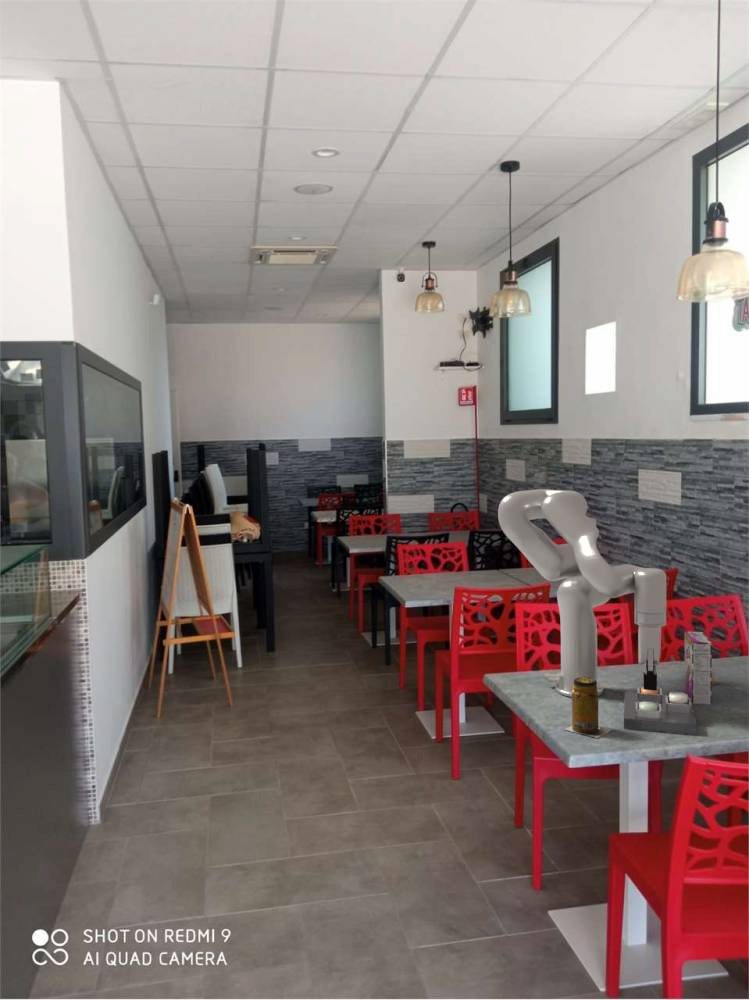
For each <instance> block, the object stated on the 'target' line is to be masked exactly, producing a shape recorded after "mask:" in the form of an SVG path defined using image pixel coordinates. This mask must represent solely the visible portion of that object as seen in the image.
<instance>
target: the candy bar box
mask: <svg viewBox="0 0 749 1000" xmlns="http://www.w3.org/2000/svg"><path fill="white" fill-rule="evenodd" d="M712 645H713V644H712V642H711V641H710V639H709V638H708V637H707V636H706V633H704V631H703V632H702V631H684V691H685V694H687V695H688V696H690V697H691V699H692V704H693V705H699V706H700V705H702V706H712V701H713V700H712V697H713V695H712V688H713V685H712V671H713V670H712V668H713V667H712V666H713V664H712V663H713V662H712V660H713V658H712V655H713V654H712V652H713V651H712Z"/></svg>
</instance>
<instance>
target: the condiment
mask: <svg viewBox="0 0 749 1000" xmlns="http://www.w3.org/2000/svg"><path fill="white" fill-rule="evenodd" d="M597 683H598V681H597V682H596V680H595V679H592V678H588V677H578V678H576V679H574V689H573V691H572V697H571V724H572V725H570V726H569V727H566V728H564V730H566V731H569V732H570V733H571V732H572V733H575V734H578V735H579V734H580V735H585V736H588V737H593V738H597V739H598V738H600V737H602V736H604V735H607V734H608V733H609V732H610V731H612V730H613V729H611V728H608V727H604V726H601V725H599V716H600V715H599V696H598V692H597V686H596V684H597ZM599 727H600V730H601V731H600V730H598V728H599Z"/></svg>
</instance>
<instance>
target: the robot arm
mask: <svg viewBox="0 0 749 1000" xmlns="http://www.w3.org/2000/svg"><path fill="white" fill-rule="evenodd" d="M587 511H588V504H587V500H586V498H585V496H583V494H582V493H580V492H578V491H575V490H560V489H557V490H556V489H540V488H539V489H528V490H521V491H519V490H518V491H514V492H511V493H509V494H507V495H505V496H504V497H503V498H502V499H501V500H500V503H499V506H498V509H497V514H498V515H497V517H498V523H499V527H500V528H501V530H502V532H503V534H504V535H505V536H506V537H507V538H508V540H509V541H511V542H512V543H513V544H514V546H515V547H517V549H518V550H519V551H520V552H521V553H522V554H523V555H524V557H525V558H526V560H528V562H529V563H530V564H531V565H532V566H533V568H534V569H535V570H536V571H537V572H538V573H539V574H540V576H541V577H542V578H544V579H545V580H547V581H549V582H556V581H560V580H563V581H562V582H561V583H560V585H559V586H558V588H557V593H556V599H557V605H558V611H559V617H560V618H559V619H560V670H559V672H556V673H551V672H550V673H548V672H545V673H544V681H547V682H548V683H555V685H554V688H555V689H554V690H555V692H557V693H558V694H560V695H562V696H565V697H569V698H570V697H571V698H572V691H573V689H574V679H576V678H578V677H588V678H592V679H595V680H596V682H597V684H596V686H597V692H598V697H599V696H601V695H602V694H603V693H604V687H603V686H602V685H601V684H599V683H598V627H597V620H596V617H595V616H596V615H595V612H594V608H596V607H599V606H602V605H604V604H606V603H607V602H609V601H610V600H611V599H615V598H618V597H622V596H624V595H629V594H633V593H634V624H635V625H637V626H638V632H637V633H638V635H637V637H638V638H637V639H638V640H637V641H638V642H637V643H638V644H637V645H638V646H637V647H638V649H637V651H638V652H637V655H638V664H639V665H640V666H641V665H644V666H643V667H644V671H643V672H642V673H643V681H642V682H643V683H642V684H643V686H642V687H644V689H645V690H657V688H658V673H657V666H659V665H660V659H661V650H662V649H661V648H662V647H661V646H662V643H661V641H662V627H665V626H667V573H666V572H665V571H664V570H663V569H661V568H653V567H641V566H638V565H634V564H629V563H624V564H619V565H615V566H611V565H610V564H609V563H608V562H607V561H606V560H605V559H604V557H603V556H602V555H601V553H600V552H599V550H598V548H597V539H598V537H599V535H600V530H599V528H598V527H597V526H596V525H595V524H594V522H593V521H592V520H590V518H588V516H587V515H586V513H587ZM537 519H538V520H539V519H546V520H547V521H548V523H549V524H550V525H551V526H552V527H553V529H555V531H556V532H557V533H558V534H559V535H560V536H561V537H562V538H563V540H565V542H566V543H562V544H557V543H556V542H554V541H553V540H552V539H551V538H550V537H549V536H548V534H546V533H545V531H544V530H543V529H541V528H540V527H538V526H537V525H536V524H534V523H533V522H531V520H537Z"/></svg>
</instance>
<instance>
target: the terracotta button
mask: <svg viewBox="0 0 749 1000" xmlns="http://www.w3.org/2000/svg"><path fill="white" fill-rule="evenodd" d="M658 688H659V687H657V690H645V689H644V687H643V686H641V693H647V694H658Z"/></svg>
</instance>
